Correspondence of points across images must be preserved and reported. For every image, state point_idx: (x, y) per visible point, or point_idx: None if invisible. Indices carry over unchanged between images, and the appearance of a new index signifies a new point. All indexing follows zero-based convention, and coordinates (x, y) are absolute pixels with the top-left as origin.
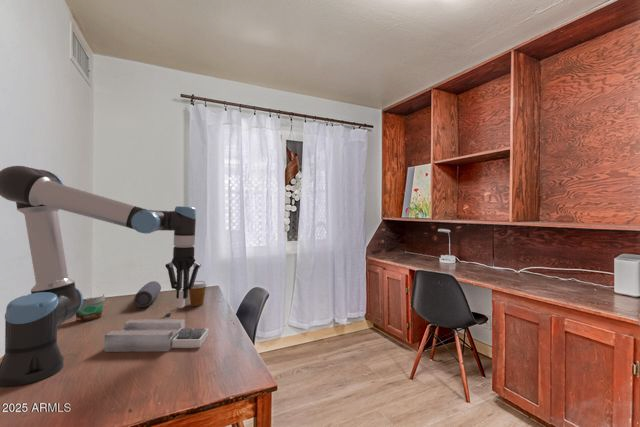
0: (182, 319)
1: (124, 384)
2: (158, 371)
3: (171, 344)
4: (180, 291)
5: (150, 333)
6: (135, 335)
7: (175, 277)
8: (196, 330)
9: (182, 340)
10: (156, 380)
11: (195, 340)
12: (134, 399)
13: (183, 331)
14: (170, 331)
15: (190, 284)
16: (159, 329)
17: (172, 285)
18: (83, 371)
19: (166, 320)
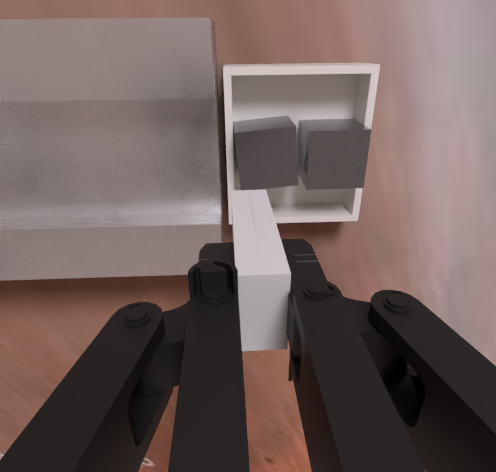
0: (194, 22)
1: None
2: (257, 352)
3: (222, 209)
4: (254, 343)
5: (125, 261)
6: (64, 277)
7: (81, 455)
8: (329, 160)
9: (276, 222)
10: (273, 386)
11: (336, 220)
12: (258, 438)
13: (261, 176)
14: (214, 236)
15: (411, 413)
16: (98, 125)
17: (135, 411)
18: (33, 356)
19: (85, 49)
